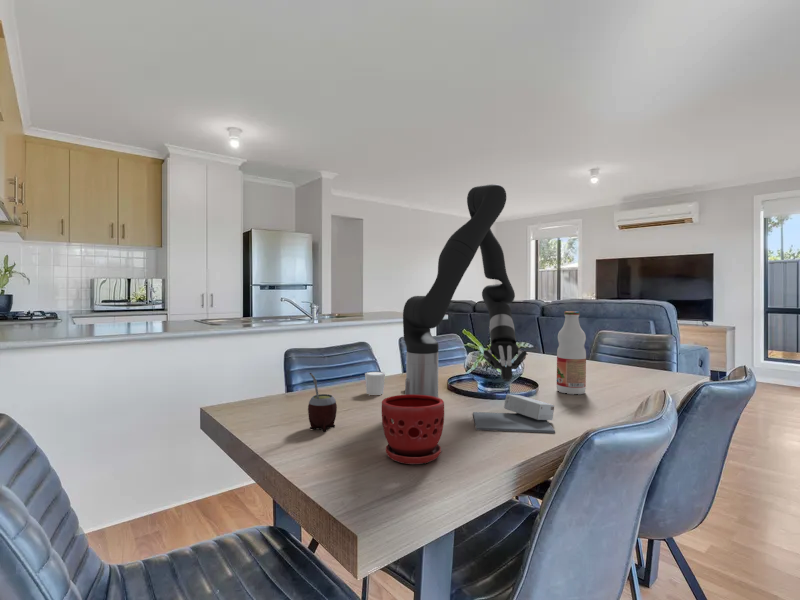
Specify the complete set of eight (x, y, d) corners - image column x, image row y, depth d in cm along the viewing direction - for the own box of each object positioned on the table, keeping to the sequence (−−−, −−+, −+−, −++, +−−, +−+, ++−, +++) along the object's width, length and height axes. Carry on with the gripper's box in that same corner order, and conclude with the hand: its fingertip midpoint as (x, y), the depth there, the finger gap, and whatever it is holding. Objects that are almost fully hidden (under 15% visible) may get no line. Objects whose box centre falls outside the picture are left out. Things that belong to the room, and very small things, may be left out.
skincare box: (503, 408, 121) (536, 421, 110) (505, 393, 121) (539, 404, 110) (518, 409, 124) (552, 422, 113) (521, 394, 124) (555, 405, 113)
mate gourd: (333, 422, 112) (333, 365, 112) (340, 431, 105) (340, 370, 105) (304, 425, 110) (304, 367, 109) (309, 435, 102) (309, 372, 102)
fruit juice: (580, 396, 142) (581, 312, 142) (552, 392, 148) (553, 311, 148) (589, 391, 149) (590, 311, 149) (562, 387, 155) (563, 310, 155)
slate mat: (476, 429, 107) (476, 427, 107) (473, 414, 121) (473, 411, 121) (554, 433, 105) (554, 430, 105) (542, 416, 119) (542, 414, 119)
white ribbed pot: (389, 393, 145) (389, 372, 145) (377, 397, 139) (377, 375, 139) (372, 390, 149) (372, 370, 149) (360, 394, 143) (360, 373, 143)
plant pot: (456, 455, 90) (456, 398, 90) (416, 475, 80) (416, 411, 80) (409, 440, 99) (409, 389, 99) (368, 456, 89) (368, 399, 89)
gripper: (481, 324, 130) (484, 371, 118) (525, 324, 129) (533, 372, 117) (479, 339, 136) (482, 386, 124) (522, 340, 134) (529, 387, 122)
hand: (507, 379), depth 120 cm, fingers closed
